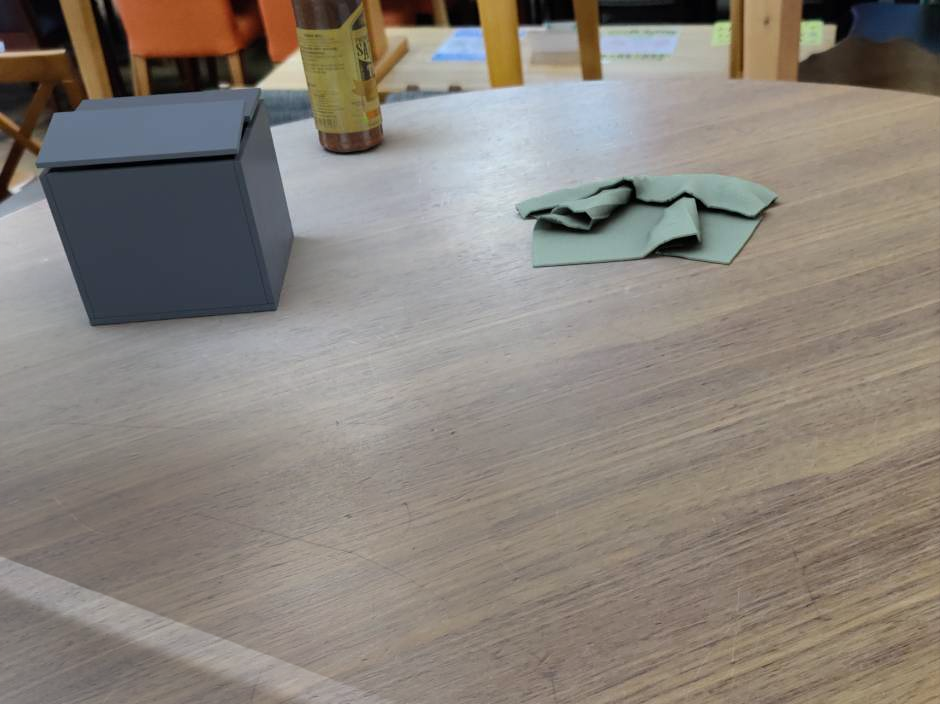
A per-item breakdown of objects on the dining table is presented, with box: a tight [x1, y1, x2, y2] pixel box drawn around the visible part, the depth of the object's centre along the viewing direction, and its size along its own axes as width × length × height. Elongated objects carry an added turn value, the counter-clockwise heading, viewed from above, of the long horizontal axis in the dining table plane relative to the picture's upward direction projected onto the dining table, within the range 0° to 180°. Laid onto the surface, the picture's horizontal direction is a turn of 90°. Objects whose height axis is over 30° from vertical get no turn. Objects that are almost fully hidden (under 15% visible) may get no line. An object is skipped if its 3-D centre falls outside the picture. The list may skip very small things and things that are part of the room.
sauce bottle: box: [290, 0, 384, 153], centre depth 108 cm, size 7×6×20 cm
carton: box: [38, 87, 295, 326], centre depth 87 cm, size 14×13×11 cm
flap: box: [34, 100, 246, 169], centre depth 81 cm, size 7×13×1 cm, turn 97°
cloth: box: [514, 173, 780, 268], centre depth 96 cm, size 20×22×2 cm
